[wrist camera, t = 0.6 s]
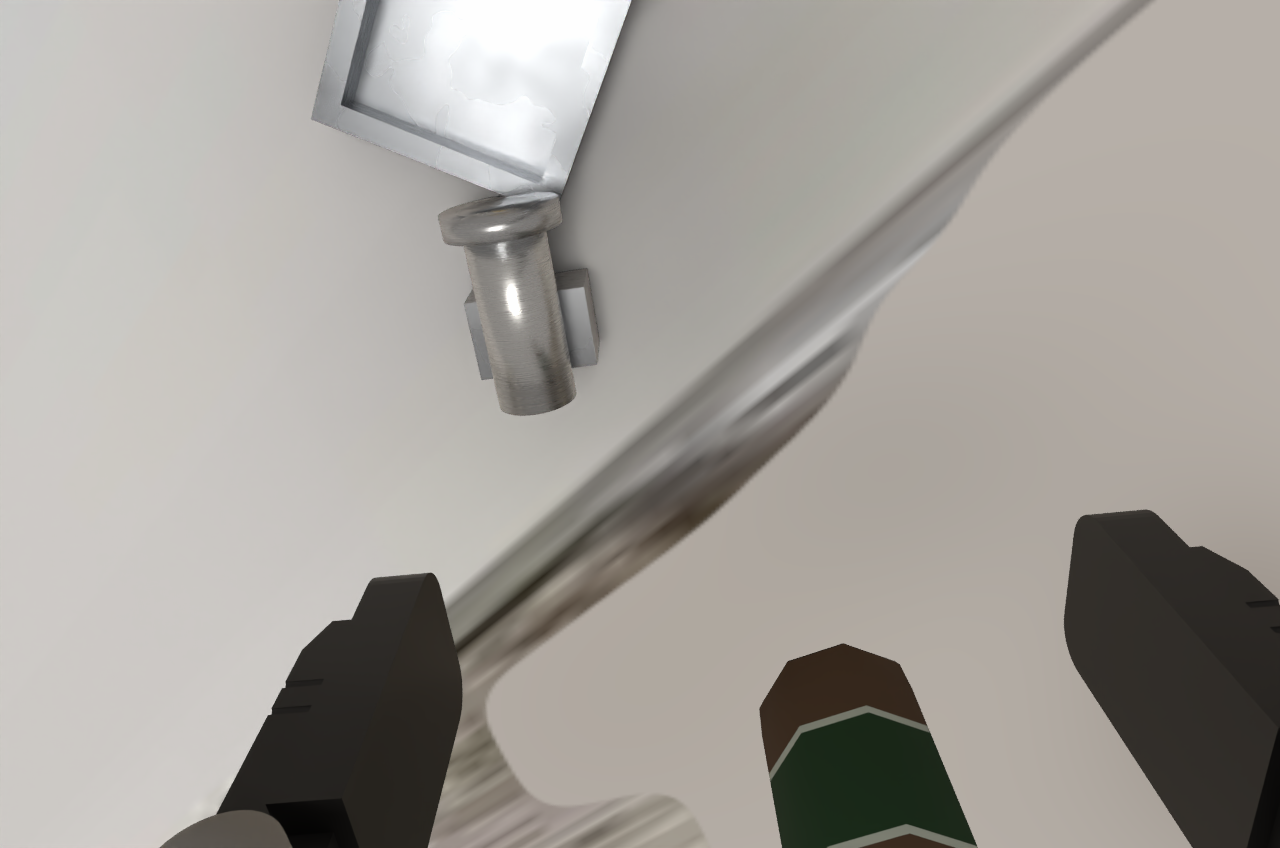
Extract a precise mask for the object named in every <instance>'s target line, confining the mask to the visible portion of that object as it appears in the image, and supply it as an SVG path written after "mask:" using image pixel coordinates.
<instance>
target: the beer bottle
mask: <svg viewBox="0 0 1280 848" xmlns="http://www.w3.org/2000/svg"><path fill="white" fill-rule="evenodd" d="M760 718H761V728H762V737H763V743H764V749H765V754H766V760H767V766H768V771H769V776H770V782H771V788H772V793H773V799H774V805H775V810H776V815H777V821H778V827H779V832H780V838H781V844H782V848H978V847H977V845H976V842H975V840H974V837H973V835H972V833H971V830H970V828H969V825H968V823H967V820H966V818H965V815H964V813H963V811H962V808H961V806H960V803H959V801H958V799H957V796H956V794H955V791H954V789H953V787H952V784H951V782H950V779H949V777H948V775H947V772H946V770H945V767H944V765H943V762H942V760H941V758H940V755H939V753H938V750H937V748H936V745H935V743H934V741H933V738H932V736H931V733H930V731H929V729H928V726H927V724H926V722H925V719H924V717H923V715H922V712H921V709H920V707H919V704H918V702H917V700H916V697H915V695H914V692H913V690H912V688H911V686H910V684H909V682H908V680H907V678H906V676H905V674H904V672H903V670H902V668H901V666H900V664H898V663H896V662H895V661H892V660H889V659H887V658H884V657H881V656H878V655H875V654H872V653H869V652H866V651H863V650H861V649H858V648H855V647H852V646H849V645H846V644H840V645H837V646H834V647H831V648H827V649H824V650H821V651H818V652H815V653H812V654H809V655H806V656H803V657H800V658H797V659H793V660H790V661H788V662H787V663H786V665H785V667H784V668H783V670H782V672H781V673H780V675H779V677H778V678H777V680H776V681H775V683H774V685H773V686H772V688H771V690H770V691H769V693H768V695H767V696H766V698H765V699H764V701H763V703H762V705H761V707H760Z"/></svg>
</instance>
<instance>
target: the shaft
mask: <svg viewBox="0 0 1280 848" xmlns="http://www.w3.org/2000/svg"><path fill="white" fill-rule="evenodd" d="M438 220H439V224H440V228H441V232H442V237H443V241H444V243H446V244H448V245H453V246H464V250H465V255H466V259H467V264H468V268H469V272H470V277H471V281H472V286H473V289H472V291H471V293H470V294H469V296H468V298H467V299H466V301H465V303H464V306H465V311H466V315H467V319H468V323H469V328H470V332H471V336H472V341H473V345H474V349H475V354H476V358H477V362H478V366H479V371H480V375H481V379H482V380H486V379H493V378H494V383H495V387H496V392H497V396H498V400H499V405H500V408H501V410H502V411H503V412H505V413H507V414H511V415H520V416H525V415H536V414H541V413H546V412H550V411H553V410H556V409H558V408H560V407H563V406H565V405H566V404H568V403H569V402H571V401H572V400H573V399H574V398H575V396H576V388H575V383H574V377H573V372H572V368H574V367H581V366H589V365H596V364H597V362H598V352H599V342H600V341H599V335H598V329H597V323H596V317H595V311H594V305H593V299H592V294H591V288H590V282H589V276H588V270H587V268H586V269H579V270H572V271H565V272H558V273H554V270H553V265H552V259H551V254H550V248H549V243H548V238H547V232H546V231H548V230H551V229H553V228H555V227H557V226H558V225H560V224H561V223H562V215H561V209H560V203H559V198H558V195H557V194H555V193H550V192H535V193H528V194H521V195H514V196H507V197H506V196H504V195H502V196H496V197H490V198H485V199H481V200H476V201H472V202H468V203H465V204H461V205H458V206H455V207H452V208H450V209H447V210H445V211H443V212H442V213H440V214H439V215H438Z"/></svg>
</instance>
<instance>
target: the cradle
mask: <svg viewBox="0 0 1280 848" xmlns="http://www.w3.org/2000/svg"><path fill="white" fill-rule="evenodd" d="M631 1H632V0H339V4H338V8H337V12H336V16H335V21H334V25H333V29H332V33H331V37H330V42H329V46H328V50H327V54H326V58H325V63H324V67H323V71H322V75H321V80H320V84H319V88H318V92H317V96H316V101H315V105H314V109H313V113H312V117H311V119H312V120H315V121H317V122H320V123H322V124H325V125H327V126H330V127H332V128H335V129H337V130H340V131H342V132H345V133H347V134H350V135H352V136H355V137H357V138H360V139H362V140H365V141H367V142H370V143H373V144H375V145H378V146H380V147H383V148H385V149H388V150H390V151H393V152H395V153H398V154H400V155H403V156H405V157H408V158H410V159H413V160H415V161H418V162H420V163H423V164H425V165H428V166H430V167H433V168H436V169H438V170H441V171H443V172H446V173H448V174H451V175H453V176H456V177H458V178H461V179H463V180H466V181H468V182H471V183H473V184H476V185H478V186H481V187H483V188H486V189H488V190H491V191H493V192H496V193H498V194H501V195H504V196H506V197H507V196H514V195H521V194H528V193H535V192H550V193H555V194H557V195H558V198H559V201H560V199H561V196H562V193H563V190H564V188H565V185H566V182H567V179H568V176H569V174H570V171H571V168H572V165H573V163H574V160H575V157H576V154H577V151H578V149H579V146H580V143H581V140H582V138H583V135H584V132H585V129H586V126H587V124H588V121H589V118H590V115H591V113H592V110H593V107H594V104H595V101H596V99H597V96H598V93H599V90H600V88H601V85H602V82H603V79H604V76H605V74H606V71H607V68H608V65H609V63H610V60H611V57H612V54H613V51H614V49H615V46H616V43H617V40H618V38H619V35H620V32H621V29H622V26H623V24H624V21H625V18H626V15H627V13H628V10H629V7H630V4H631Z"/></svg>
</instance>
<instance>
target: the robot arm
mask: <svg viewBox="0 0 1280 848" xmlns="http://www.w3.org/2000/svg"><path fill="white" fill-rule="evenodd" d="M1064 630H1065V637H1066V642H1067V647H1068V650H1069V653H1070V656H1071V659H1072V661H1073V663H1074V665H1075V667H1076V669H1077V671H1078V672H1079V674H1080V675H1081V677H1082V679H1083V680H1084V681H1085V683H1086V684H1087V686H1088V688H1089V689H1090V691H1091V692H1092V694H1093V695H1094V697H1095V699H1096V700H1097V702H1098V703H1099V705H1100V706H1101V707H1102V709H1103V711H1104V712H1105V714H1106V715H1107V717H1108V718H1109V720H1110V722H1111V723H1112V725H1113V726H1114V728H1115V729H1116V731H1117V732H1118V734H1119V735H1120V737H1121V738H1122V740H1123V741H1124V743H1125V745H1126V746H1127V748H1128V749H1129V751H1130V752H1131V754H1132V755H1133V757H1134V758H1135V760H1136V761H1137V763H1138V764H1139V766H1140V768H1141V769H1142V771H1143V772H1144V773H1145V775H1146V777H1147V778H1148V780H1149V781H1150V783H1151V784H1152V786H1153V788H1154V789H1155V791H1156V792H1157V794H1158V795H1159V797H1160V798H1161V800H1162V801H1163V803H1164V804H1165V806H1166V808H1167V809H1168V811H1169V812H1170V814H1171V815H1172V817H1173V818H1174V820H1175V821H1176V823H1177V824H1178V826H1179V828H1180V829H1181V831H1182V832H1183V834H1184V835H1185V837H1186V838H1187V840H1188V841H1189V843H1190V844H1191V846H1192V847H1193V848H1280V605H1279V602H1278V599H1277V598H1276V597H1275V596H1274V595H1273V594H1272V593H1271V592H1270V591H1269V590H1268V589H1267V588H1266V587H1265V586H1264V585H1263V584H1262V583H1261V582H1260V581H1258V580H1257V579H1256V578H1255V577H1254V576H1253V575H1252V574H1251V573H1250V572H1249V571H1248V570H1246V569H1244V568H1243V567H1241V566H1239V565H1237V564H1235V563H1233V562H1231V561H1229V560H1227V559H1226V558H1223V557H1222V556H1220V555H1218V554H1216V553H1214V552H1212V551H1210V550H1208V549H1207V548H1205V547H1203V546H1200V547H1189V546H1188V545H1187V544H1186V543H1185V542H1184V541H1183V540H1182V539H1181V538H1180V537H1179V536H1178V535H1177V534H1176V533H1175V532H1174V531H1173V530H1172V529H1171V528H1170V527H1169V526H1168V525H1167V524H1166V523H1165V522H1164V521H1163V520H1162V519H1161V518H1160V517H1159V516H1158V515H1156V514H1155V513H1154V512H1152V511H1150V510H1137V511H1126V512H1115V513H1103V514H1094V515H1093V514H1092V515H1084V516H1082V517H1081V518H1080V519H1079V520H1078V522H1077V524H1076V527H1075V531H1074V538H1073V546H1072V555H1071V564H1070V571H1069V580H1068V588H1067V597H1066V606H1065V614H1064ZM461 710H462V677H461V670H460V665H459V661H458V657H457V653H456V649H455V645H454V641H453V637H452V633H451V629H450V625H449V621H448V617H447V613H446V609H445V605H444V601H443V597H442V593H441V589H440V585H439V582H438V580H437V578H436V576H435V575H434V574H433V573H422V574H411V575H400V576H389V577H378V578H373V579H372V580H371V581H370V582H369V584H368V586H367V588H366V590H365V592H364V594H363V596H362V599H361V601H360V603H359V605H358V607H357V609H356V611H355V614H354V616H353V618H352V620H342V621H332V622H331V623H330V624H329V625H328V626H327V627H326V628H325V629H324V630H323V631H322V632H321V633H320V634H319V635H318V636H316V637H315V638H314V639H313V640H312V641H311V642H310V643H309V644H308V645H307V646H306V647H305V648H304V649H303V650H302V651H301V653H300V655H299V657H298V659H297V661H296V663H295V665H294V667H293V668H292V670H291V672H290V674H289V676H288V678H287V680H286V688H282V690H281V691H280V693H279V695H278V697H277V699H276V701H275V703H274V705H273V707H272V715H268V716H267V718H266V720H265V722H264V724H263V726H262V728H261V730H260V732H259V734H258V735H257V737H256V739H255V741H254V743H253V745H252V747H251V749H250V751H249V753H248V755H247V757H246V758H245V760H244V762H243V764H242V766H241V768H240V770H239V772H238V774H237V776H236V778H235V780H234V781H233V783H232V785H231V787H230V789H229V791H228V793H227V795H226V797H225V799H224V801H223V802H222V804H221V806H220V808H219V810H218V812H217V814H216V815H214V816H211V817H208V818H206V819H203V820H201V821H199V822H197V823H195V824H193V825H191V826H189V827H187V828H186V829H184V830H182V831H181V832H179V833H178V834H176V835H175V836H173V837H172V838H171V839H169V840H168V841H167V842H165V843H164V844H163V845H162V846H161V847H160V848H428V844H429V840H430V836H431V832H432V828H433V824H434V820H435V816H436V812H437V808H438V804H439V800H440V796H441V792H442V788H443V784H444V780H445V776H446V772H447V768H448V764H449V760H450V756H451V753H452V749H453V745H454V741H455V737H456V733H457V729H458V725H459V721H460V716H461Z"/></svg>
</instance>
